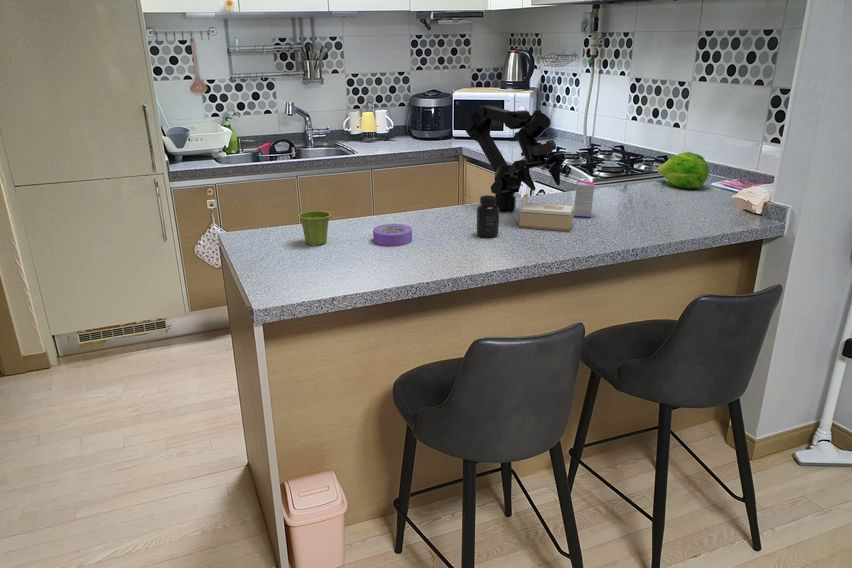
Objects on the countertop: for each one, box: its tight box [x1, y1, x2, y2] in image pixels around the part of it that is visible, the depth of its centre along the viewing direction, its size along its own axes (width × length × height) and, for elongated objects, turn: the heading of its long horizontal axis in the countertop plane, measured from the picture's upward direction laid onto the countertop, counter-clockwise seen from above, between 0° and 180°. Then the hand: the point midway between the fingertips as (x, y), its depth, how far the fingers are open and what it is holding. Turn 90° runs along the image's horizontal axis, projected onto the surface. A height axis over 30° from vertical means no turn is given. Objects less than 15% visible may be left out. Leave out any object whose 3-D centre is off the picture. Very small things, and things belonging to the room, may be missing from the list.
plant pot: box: [297, 210, 332, 246], centre depth 198 cm, size 9×9×9 cm
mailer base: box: [518, 209, 574, 233], centre depth 214 cm, size 16×8×5 cm, turn 73°
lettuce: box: [656, 151, 710, 190], centre depth 269 cm, size 15×22×15 cm
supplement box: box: [573, 180, 595, 219], centre depth 226 cm, size 6×6×12 cm
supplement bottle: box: [476, 195, 500, 239], centre depth 204 cm, size 7×7×12 cm
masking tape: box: [372, 223, 413, 247], centre depth 201 cm, size 12×12×4 cm
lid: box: [520, 193, 574, 215], centre depth 213 cm, size 16×8×4 cm, turn 72°
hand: (546, 187), depth 213 cm, fingers open, 9 cm apart
